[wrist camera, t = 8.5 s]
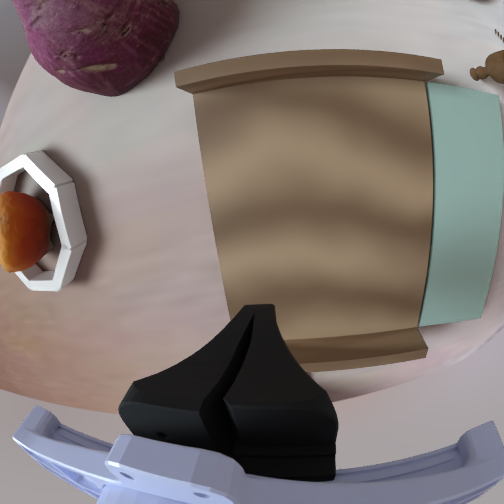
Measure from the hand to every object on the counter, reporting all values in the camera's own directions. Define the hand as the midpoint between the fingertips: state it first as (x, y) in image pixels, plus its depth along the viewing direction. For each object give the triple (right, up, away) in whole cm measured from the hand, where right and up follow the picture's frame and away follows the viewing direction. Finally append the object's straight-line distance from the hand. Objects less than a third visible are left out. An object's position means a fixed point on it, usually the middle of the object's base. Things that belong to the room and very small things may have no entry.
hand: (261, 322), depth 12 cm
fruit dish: (-23, +7, +11) cm, 26 cm away
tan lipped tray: (+5, +6, +7) cm, 10 cm away
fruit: (-23, +7, +11) cm, 26 cm away
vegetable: (-11, +21, +4) cm, 24 cm away
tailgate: (+13, +6, +5) cm, 15 cm away
